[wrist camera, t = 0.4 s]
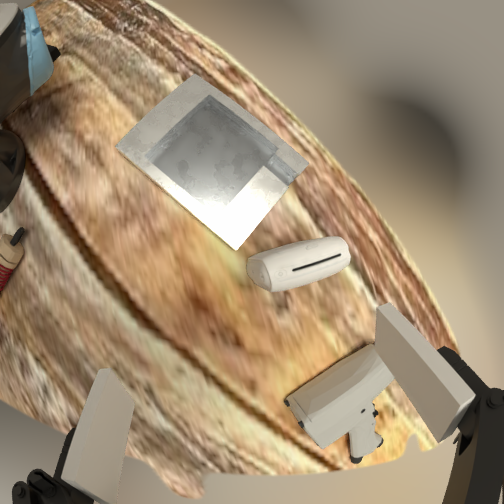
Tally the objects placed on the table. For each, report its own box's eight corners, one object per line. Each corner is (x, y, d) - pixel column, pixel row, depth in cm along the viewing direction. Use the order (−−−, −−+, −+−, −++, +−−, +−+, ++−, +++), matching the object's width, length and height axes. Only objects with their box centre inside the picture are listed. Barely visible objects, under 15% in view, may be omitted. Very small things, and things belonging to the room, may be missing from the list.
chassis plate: (119, 152, 35) (114, 146, 33) (194, 82, 37) (194, 73, 35) (234, 250, 38) (236, 250, 35) (303, 168, 40) (309, 163, 37)
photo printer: (250, 287, 38) (273, 301, 26) (241, 257, 38) (261, 256, 26) (317, 266, 40) (363, 269, 28) (309, 237, 40) (353, 229, 28)
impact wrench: (429, 404, 42) (422, 327, 34) (344, 475, 38) (300, 430, 31) (406, 386, 50) (388, 309, 42) (326, 451, 46) (277, 396, 38)
